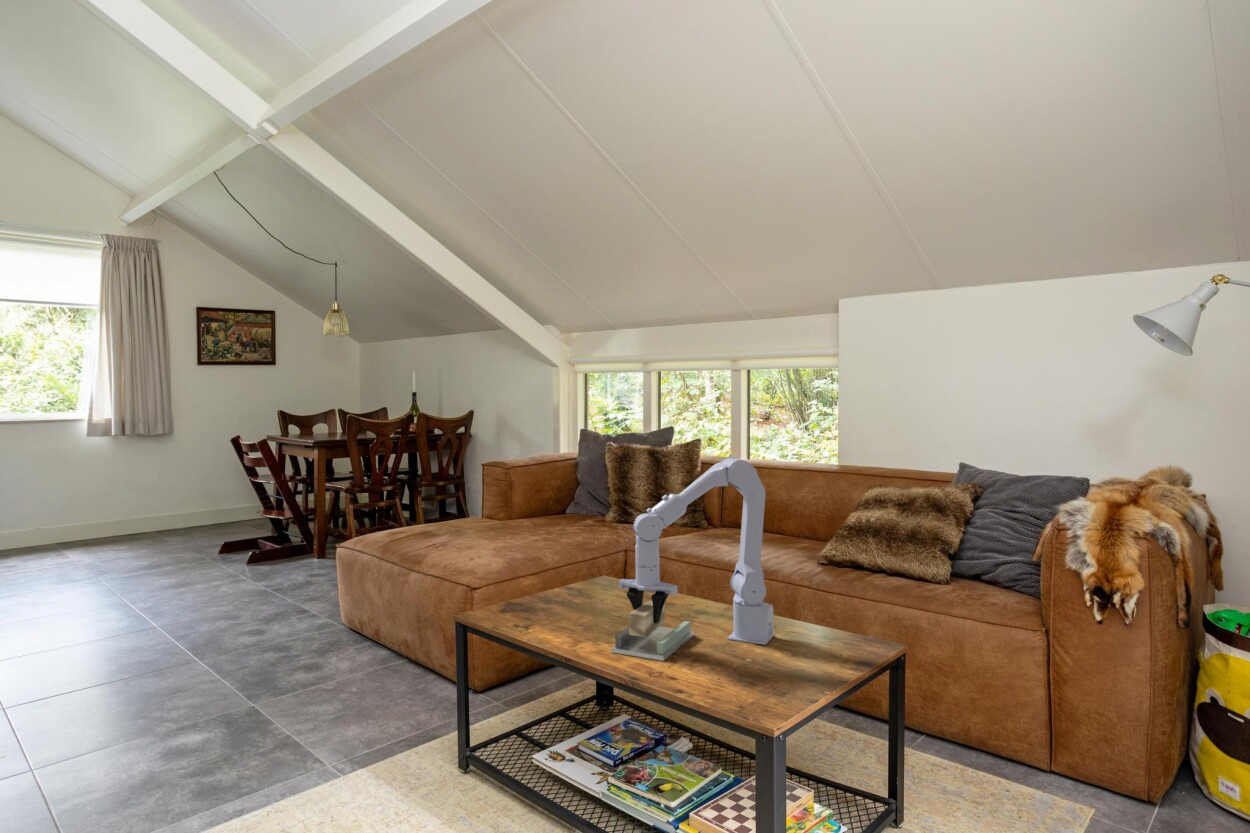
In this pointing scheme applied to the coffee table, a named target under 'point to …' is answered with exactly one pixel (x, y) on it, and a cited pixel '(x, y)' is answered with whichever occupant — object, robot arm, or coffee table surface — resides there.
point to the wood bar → (644, 620)
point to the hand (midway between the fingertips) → (647, 621)
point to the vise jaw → (673, 637)
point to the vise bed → (646, 644)
